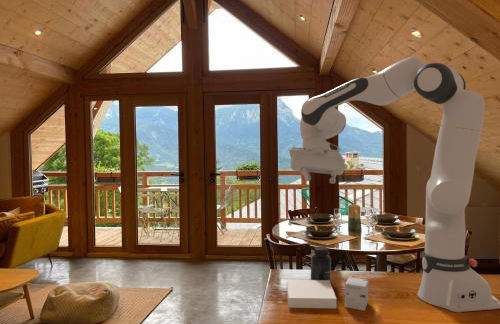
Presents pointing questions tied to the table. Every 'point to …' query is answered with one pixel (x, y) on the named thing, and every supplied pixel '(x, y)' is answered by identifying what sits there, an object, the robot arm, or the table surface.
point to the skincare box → (356, 293)
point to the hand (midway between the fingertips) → (320, 181)
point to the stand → (310, 294)
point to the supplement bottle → (321, 264)
